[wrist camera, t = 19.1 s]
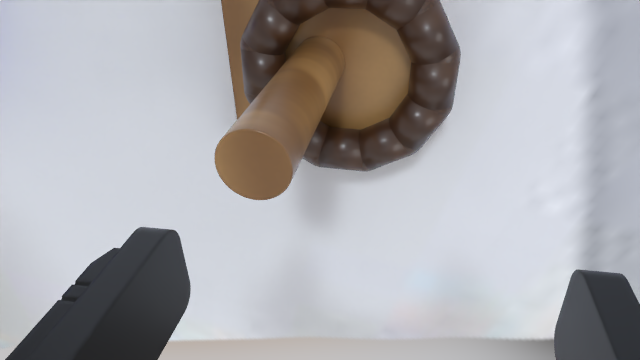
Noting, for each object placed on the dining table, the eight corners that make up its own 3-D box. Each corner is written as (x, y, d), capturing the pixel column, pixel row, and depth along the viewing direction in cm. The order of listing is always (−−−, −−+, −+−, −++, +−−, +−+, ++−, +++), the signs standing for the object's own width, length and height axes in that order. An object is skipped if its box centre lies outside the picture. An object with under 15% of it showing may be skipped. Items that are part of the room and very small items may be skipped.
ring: (256, 148, 26) (244, 166, 24) (242, -51, 21) (225, -45, 19) (441, 166, 24) (441, 187, 22) (473, -45, 19) (477, -38, 17)
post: (246, 133, 27) (146, 267, 17) (224, -46, 22) (71, 6, 13) (412, 142, 25) (400, 296, 16) (425, -49, 20) (419, 7, 11)
